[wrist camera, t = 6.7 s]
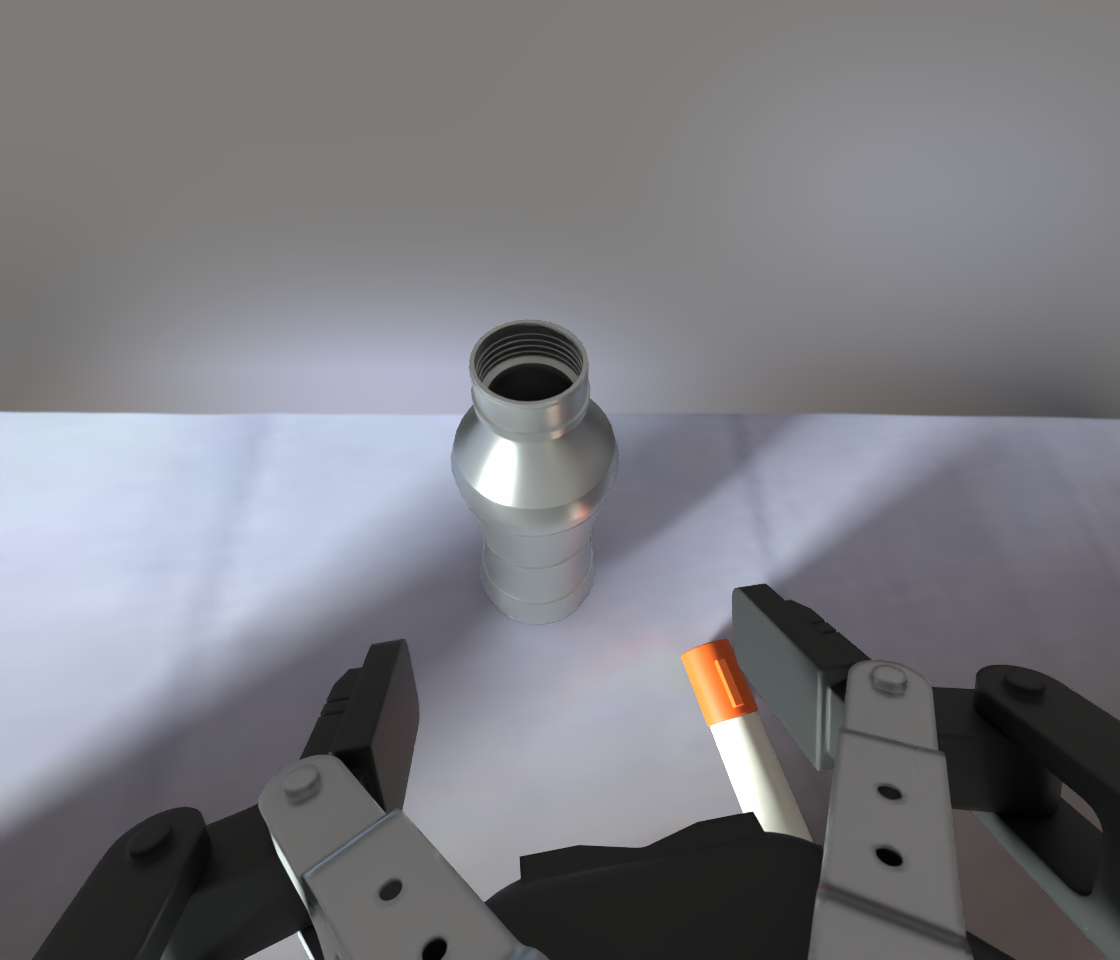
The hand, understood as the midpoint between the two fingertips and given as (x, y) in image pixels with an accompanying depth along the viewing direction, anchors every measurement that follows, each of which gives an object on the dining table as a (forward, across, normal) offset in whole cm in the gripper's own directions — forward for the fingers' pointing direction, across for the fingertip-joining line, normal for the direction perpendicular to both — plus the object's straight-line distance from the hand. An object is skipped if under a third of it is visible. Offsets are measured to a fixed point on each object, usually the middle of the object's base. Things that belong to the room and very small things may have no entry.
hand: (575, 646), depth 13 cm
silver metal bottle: (+20, 0, +8) cm, 21 cm away
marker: (+10, -10, +17) cm, 22 cm away
